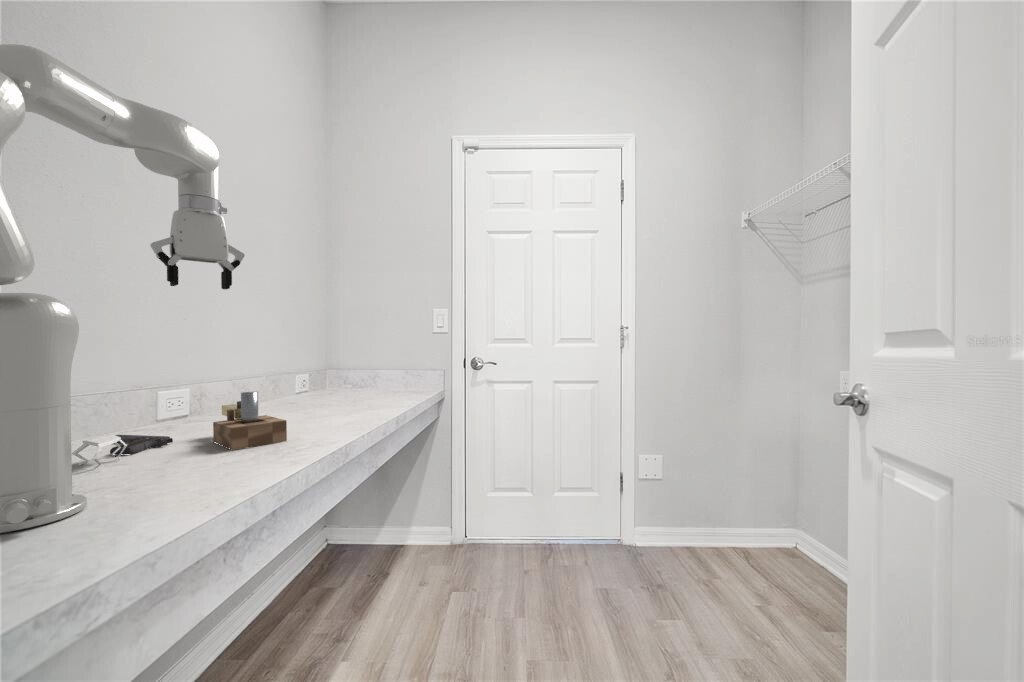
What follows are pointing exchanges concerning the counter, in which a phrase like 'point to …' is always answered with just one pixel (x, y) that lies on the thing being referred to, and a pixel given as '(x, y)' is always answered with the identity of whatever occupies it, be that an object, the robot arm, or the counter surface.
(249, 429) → the dock
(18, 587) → the counter surface
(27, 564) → the counter surface
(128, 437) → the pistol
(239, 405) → the bar
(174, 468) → the counter surface
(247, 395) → the peg
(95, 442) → the white folding stand
